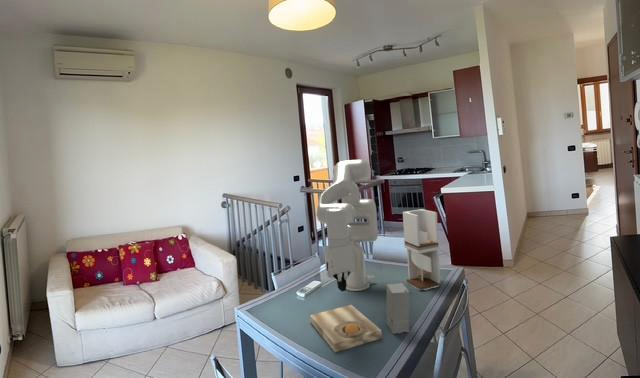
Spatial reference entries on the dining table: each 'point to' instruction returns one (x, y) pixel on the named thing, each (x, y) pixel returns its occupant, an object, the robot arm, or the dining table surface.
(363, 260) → the robot arm
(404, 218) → the display case
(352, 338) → the block
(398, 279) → the dining table surface
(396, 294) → the skincare box
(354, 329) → the ball
